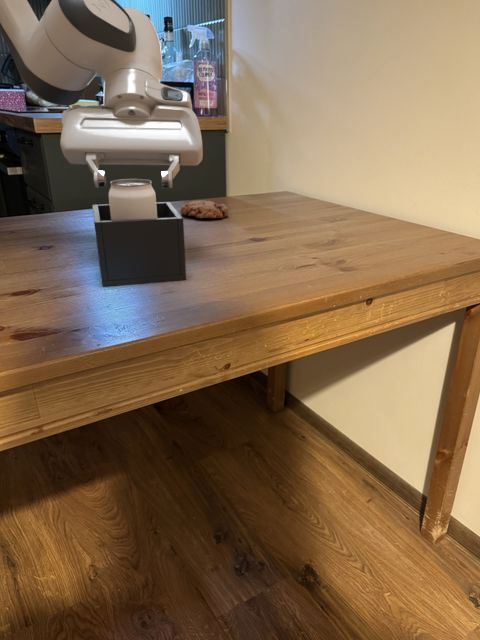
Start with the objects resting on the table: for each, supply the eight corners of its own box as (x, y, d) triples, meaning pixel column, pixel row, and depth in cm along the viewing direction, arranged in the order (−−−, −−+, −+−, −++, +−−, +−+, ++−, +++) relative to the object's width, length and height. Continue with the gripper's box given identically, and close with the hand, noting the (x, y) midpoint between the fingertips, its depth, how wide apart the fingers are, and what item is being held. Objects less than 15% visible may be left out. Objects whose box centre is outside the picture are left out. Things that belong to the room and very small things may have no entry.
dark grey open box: (102, 286, 68) (94, 222, 64) (99, 261, 78) (92, 204, 74) (186, 279, 72) (183, 218, 68) (173, 256, 81) (170, 201, 77)
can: (152, 256, 78) (146, 177, 73) (167, 268, 73) (161, 184, 68) (111, 262, 75) (101, 179, 70) (123, 274, 70) (113, 187, 65)
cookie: (185, 210, 113) (184, 196, 112) (231, 212, 113) (231, 198, 111) (175, 220, 104) (174, 205, 103) (225, 222, 104) (225, 207, 102)
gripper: (56, 88, 71) (52, 170, 67) (200, 93, 74) (204, 171, 70) (67, 121, 77) (64, 198, 73) (200, 124, 80) (204, 198, 76)
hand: (134, 185), depth 71 cm, fingers open, 8 cm apart
